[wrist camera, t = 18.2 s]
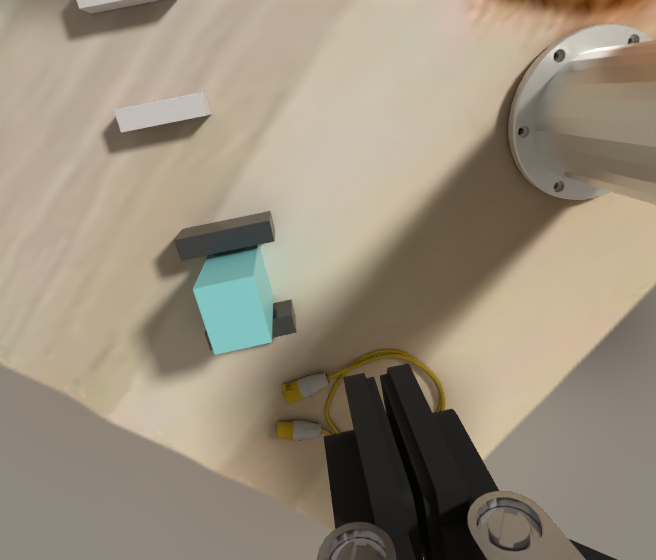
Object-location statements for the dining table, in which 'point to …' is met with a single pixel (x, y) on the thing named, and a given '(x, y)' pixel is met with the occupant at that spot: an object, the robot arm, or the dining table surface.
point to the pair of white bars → (157, 110)
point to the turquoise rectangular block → (235, 299)
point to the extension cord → (318, 381)
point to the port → (235, 237)
